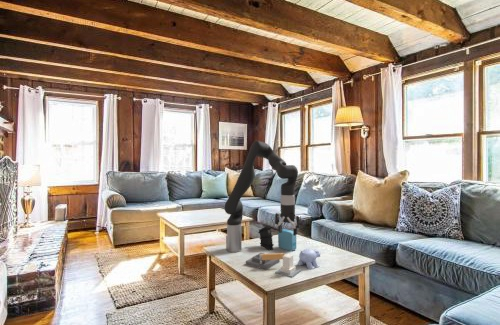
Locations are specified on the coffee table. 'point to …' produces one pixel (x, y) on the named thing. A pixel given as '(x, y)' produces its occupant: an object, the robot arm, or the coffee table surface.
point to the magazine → (266, 238)
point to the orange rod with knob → (271, 256)
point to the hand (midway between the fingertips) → (287, 233)
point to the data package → (287, 240)
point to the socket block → (261, 262)
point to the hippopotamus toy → (309, 258)
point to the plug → (288, 264)
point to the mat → (287, 273)
